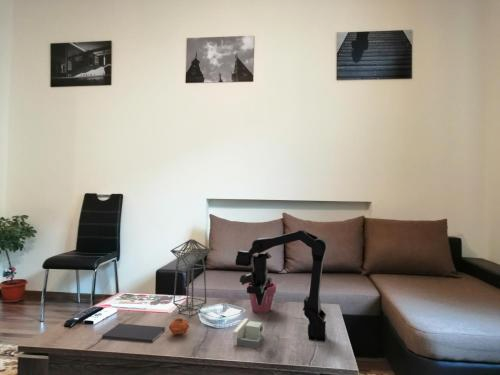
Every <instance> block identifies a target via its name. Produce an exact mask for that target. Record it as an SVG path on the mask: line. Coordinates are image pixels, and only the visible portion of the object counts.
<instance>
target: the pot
mask: <svg viewBox="0 0 500 375" xmlns="http://www.w3.org/2000/svg"><path fill="white" fill-rule="evenodd" d="M189 327H190V324H189V323H188V322H187V321H186V320H185V319H184V318H181V317H178V318H175V319H174V320H172V322H171V323H170V324H169V326H168V328H169V331H170V332H171V335H172V337H175V335H182V334H184V336H187V332H188V329H189Z"/></svg>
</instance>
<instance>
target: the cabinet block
mask: <svg viewBox="0 0 500 375" xmlns="http://www.w3.org/2000/svg"><path fill="white" fill-rule="evenodd" d="M263 330H264V328H263V322H259V321H253V320H252V321H251V320H249V322H248V323H247V325H246V335H245V339H250V340H257V339H258V338H259V336H260V335H263Z"/></svg>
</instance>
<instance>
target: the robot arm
mask: <svg viewBox="0 0 500 375" xmlns="http://www.w3.org/2000/svg"><path fill="white" fill-rule="evenodd" d="M296 241H297V242H298V241H300V242H301V243H304V245H306V246H307V247H309V248H311V257H312V268H311V275H310V277H311V278H310V287H309V293H308V296H307V295H306V296H305V297H304V300H303V309H302V311H303V314H304V316H305V317H306V319H308V324H307V336H308V340H312V341H319V342H326V339H327V330H326V328H327V321H326V317H327V314H326V312H325V311H324V310H323V309H322V305H321V303H322V302H321V297H320V292H321V284H322V283H321V281H322V273H323V266H324V265H323V263H324V260H325V258H326V257H325V256H326V254H327V250H328V248H329V242H328V241H327V239H325V238H324V237H317V236H316V235H314V234H312V233H310V232H308V231H306V230H305V229H299V230H296V231H293V232H289V233H286V234H281V235H278V236H274V237H271V236H270V237H261V238H260V237H259V238H257V239H255V240H253V242H252V243H251V248H250V249H249V250H247V251H246V250H245V251H244V250H237V254H236V256H235V266H236V267H239V268H240V267H242V268H243V267H244V268H251V266H253V267H252V271H251V273H247V274H241V275H240V277H239V283H241V285H242V286H244V285H247V284H248V283H250V282H251V285H249V286H248V287H246V293H247V294H249V293H251V294H255V295H256V298H257V302H258V305H261V304H262V302H263V299H264V297H265V294H266V292H267V290H268V287H265V284H266V283H269V285H271V283H272V282H273V281H272V280H273V278H271V277H270V276H267V273H268V272H269V270H268V267H267V265H268V263H267V262H268V260H267V259H271V258H272V257H273V256H272V255H271V254H270V253H269V252H268V250H270V249H272V248H273V247H279V246H281V245H284V244H290V243H293V242H296ZM266 251H267V252H266ZM264 252H265V253H264ZM256 254H257V255H256Z"/></svg>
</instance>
